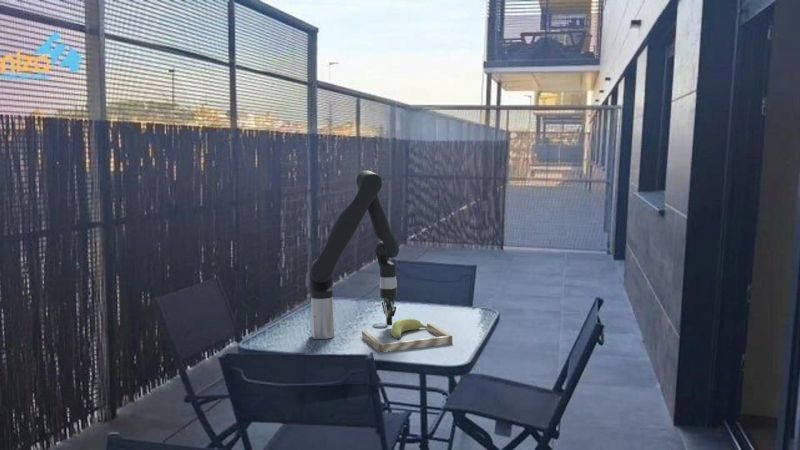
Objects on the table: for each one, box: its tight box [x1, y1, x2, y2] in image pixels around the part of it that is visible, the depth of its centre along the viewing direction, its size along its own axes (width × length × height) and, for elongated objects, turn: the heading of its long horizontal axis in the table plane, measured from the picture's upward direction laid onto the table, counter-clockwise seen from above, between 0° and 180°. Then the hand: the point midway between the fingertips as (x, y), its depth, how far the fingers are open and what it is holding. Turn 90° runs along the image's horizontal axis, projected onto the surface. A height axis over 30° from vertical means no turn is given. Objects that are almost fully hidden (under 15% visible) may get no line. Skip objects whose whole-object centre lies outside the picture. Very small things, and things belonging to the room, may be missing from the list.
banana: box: [390, 318, 427, 340], centre depth 298 cm, size 14×6×20 cm
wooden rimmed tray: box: [361, 322, 453, 354], centre depth 286 cm, size 31×24×3 cm
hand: (389, 325), depth 306 cm, fingers closed
